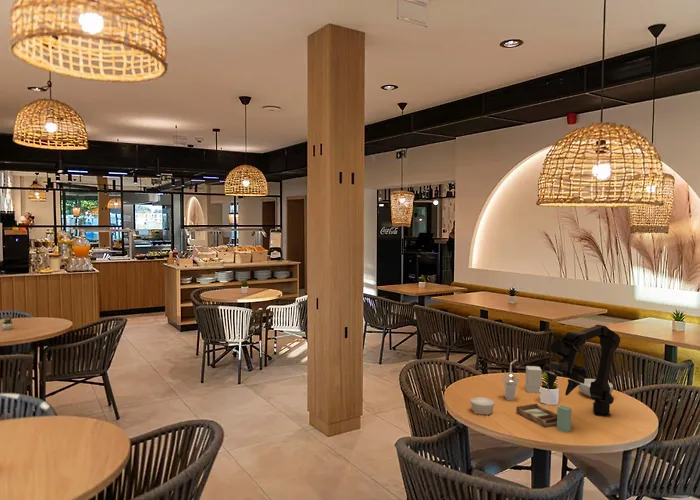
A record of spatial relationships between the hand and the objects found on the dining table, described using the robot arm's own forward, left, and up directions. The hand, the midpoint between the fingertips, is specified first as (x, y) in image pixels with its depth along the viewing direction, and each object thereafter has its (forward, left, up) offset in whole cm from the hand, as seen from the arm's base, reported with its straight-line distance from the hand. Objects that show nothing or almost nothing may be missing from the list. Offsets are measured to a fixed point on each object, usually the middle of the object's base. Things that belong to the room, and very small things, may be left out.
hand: (557, 392), depth 234 cm
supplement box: (+8, -47, -15) cm, 50 cm away
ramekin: (+33, -6, -15) cm, 37 cm away
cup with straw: (+20, -29, -15) cm, 38 cm away
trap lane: (+7, -6, -15) cm, 17 cm away
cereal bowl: (-23, -49, -15) cm, 56 cm away
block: (-3, +5, -15) cm, 16 cm away
